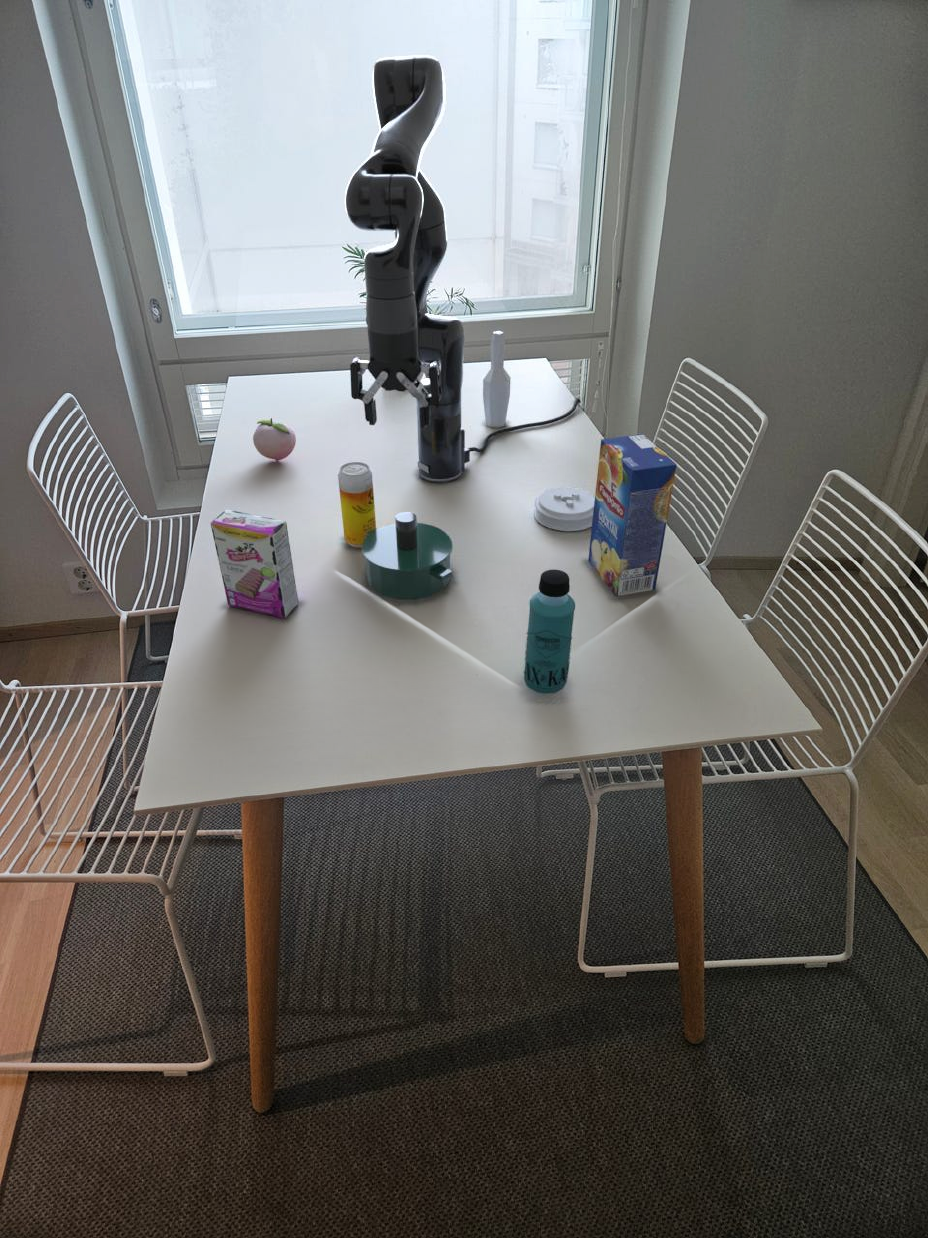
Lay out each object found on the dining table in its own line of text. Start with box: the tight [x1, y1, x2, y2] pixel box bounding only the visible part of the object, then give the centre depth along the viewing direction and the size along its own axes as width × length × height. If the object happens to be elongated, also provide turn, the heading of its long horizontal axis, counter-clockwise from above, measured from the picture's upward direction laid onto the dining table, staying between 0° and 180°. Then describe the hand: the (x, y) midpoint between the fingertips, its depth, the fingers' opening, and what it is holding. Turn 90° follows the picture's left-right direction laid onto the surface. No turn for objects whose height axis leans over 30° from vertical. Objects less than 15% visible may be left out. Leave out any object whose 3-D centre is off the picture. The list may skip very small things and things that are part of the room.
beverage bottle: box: [522, 568, 576, 695], centre depth 113 cm, size 6×7×20 cm
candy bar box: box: [209, 508, 299, 619], centre depth 130 cm, size 11×5×16 cm, turn 71°
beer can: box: [337, 461, 377, 549], centre depth 148 cm, size 6×6×15 cm
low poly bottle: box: [482, 330, 511, 429], centre depth 190 cm, size 6×6×22 cm
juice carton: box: [587, 433, 678, 597], centre depth 135 cm, size 12×8×24 cm, turn 16°
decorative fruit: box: [252, 417, 297, 462], centre depth 177 cm, size 9×8×10 cm
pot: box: [364, 527, 454, 601], centre depth 140 cm, size 15×20×6 cm
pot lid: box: [361, 511, 454, 573], centre depth 136 cm, size 16×16×7 cm
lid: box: [533, 486, 595, 532], centre depth 157 cm, size 13×13×5 cm
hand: (398, 424), depth 131 cm, fingers open, 8 cm apart
